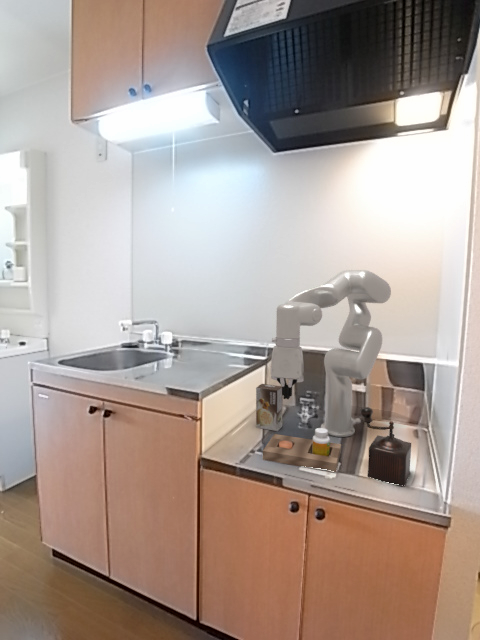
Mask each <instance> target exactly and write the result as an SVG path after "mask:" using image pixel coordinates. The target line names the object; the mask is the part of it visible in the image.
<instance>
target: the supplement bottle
mask: <svg viewBox="0 0 480 640" xmlns="http://www.w3.org/2000/svg"><path fill="white" fill-rule="evenodd" d="M312 440H313V445H312V453H311V454H316V455H322V456H328V457H330V456H329V449H330V443H331V440H330V437H329V435H328V430H326V429H324V428H321V427H318V428H315V429H314V435H313V436H312Z"/></svg>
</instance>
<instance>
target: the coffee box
mask: <svg viewBox="0 0 480 640" xmlns="http://www.w3.org/2000/svg"><path fill="white" fill-rule="evenodd" d="M283 396H284V395H282V386H281V385H274V384H267V383H260V384H259V385H258V386H256V388H255V397H256V399H255V401H256V403H255V408H256V409H255V411H256V412H255V414H256V415H255V417H256V418H255V419H256V420H255V427H256V428H258V429H262V430H263V429H264V430H269V431H274V432H278V431H279V430H280V429H281V428H282V427H283V399H284V398H283Z"/></svg>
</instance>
